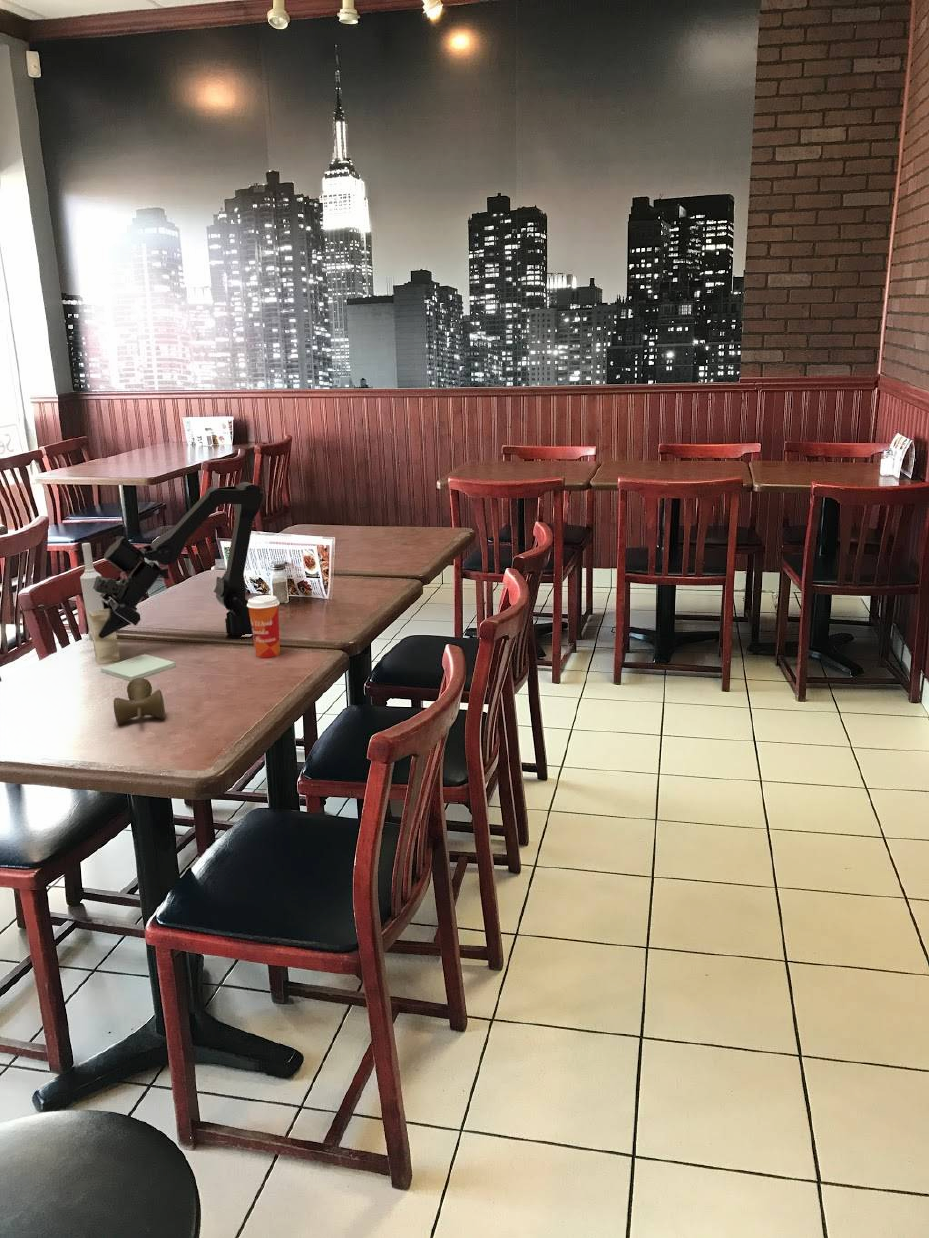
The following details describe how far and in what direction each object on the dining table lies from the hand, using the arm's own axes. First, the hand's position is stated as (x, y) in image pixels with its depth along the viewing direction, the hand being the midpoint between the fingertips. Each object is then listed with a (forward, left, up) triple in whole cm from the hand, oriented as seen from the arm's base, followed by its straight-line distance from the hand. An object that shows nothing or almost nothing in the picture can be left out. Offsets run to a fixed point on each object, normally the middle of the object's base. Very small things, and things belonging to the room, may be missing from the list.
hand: (98, 634), depth 240 cm
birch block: (-1, -1, -7) cm, 7 cm away
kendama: (-25, +34, -7) cm, 43 cm away
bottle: (+10, -19, -7) cm, 22 cm away
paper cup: (-40, -5, -7) cm, 41 cm away
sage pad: (-12, +6, -7) cm, 15 cm away
